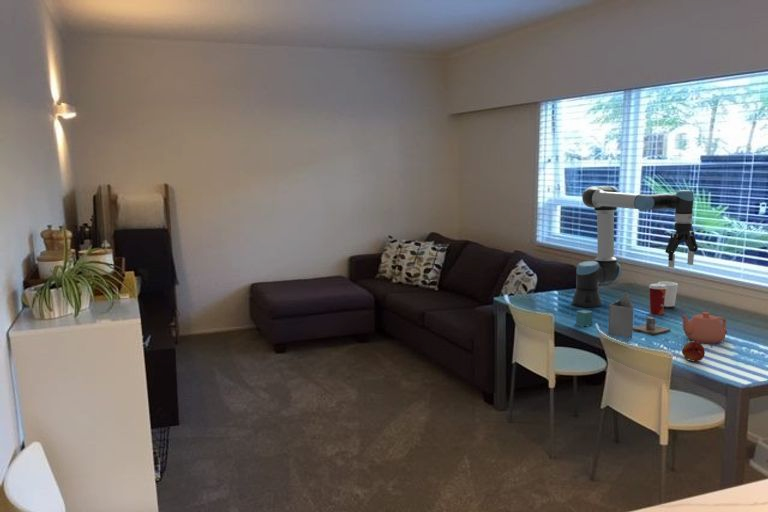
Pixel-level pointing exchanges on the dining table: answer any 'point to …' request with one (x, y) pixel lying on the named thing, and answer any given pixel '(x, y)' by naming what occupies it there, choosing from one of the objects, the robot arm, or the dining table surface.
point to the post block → (650, 328)
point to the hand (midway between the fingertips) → (680, 265)
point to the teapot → (705, 328)
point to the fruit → (693, 351)
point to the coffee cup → (657, 298)
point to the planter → (621, 317)
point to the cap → (584, 317)
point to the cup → (670, 293)
